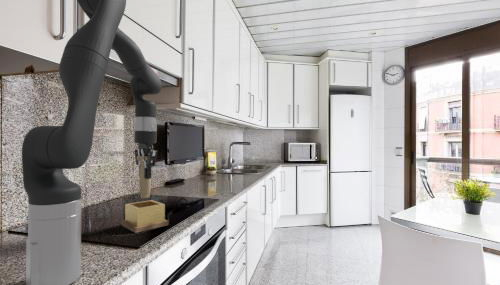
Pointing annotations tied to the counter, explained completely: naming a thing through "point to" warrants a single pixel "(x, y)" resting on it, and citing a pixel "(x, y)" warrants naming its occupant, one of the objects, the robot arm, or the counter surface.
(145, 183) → the handle
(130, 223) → the sleeve block
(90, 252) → the counter surface
